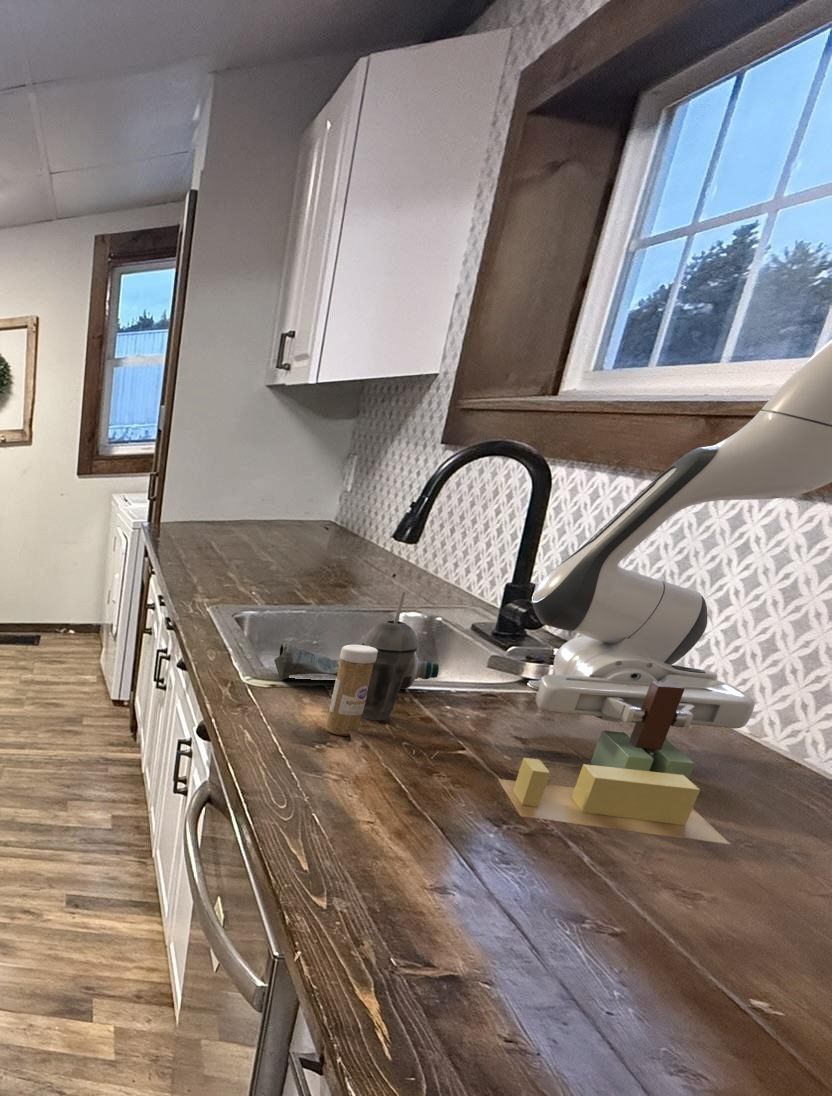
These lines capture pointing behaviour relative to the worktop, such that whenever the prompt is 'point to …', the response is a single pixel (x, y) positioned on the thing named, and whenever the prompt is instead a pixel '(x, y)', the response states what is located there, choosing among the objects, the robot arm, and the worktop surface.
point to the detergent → (311, 663)
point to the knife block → (639, 756)
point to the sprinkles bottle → (350, 689)
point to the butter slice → (531, 782)
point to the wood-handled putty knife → (657, 715)
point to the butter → (635, 794)
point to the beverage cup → (388, 664)
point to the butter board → (564, 809)
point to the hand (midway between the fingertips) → (659, 719)
